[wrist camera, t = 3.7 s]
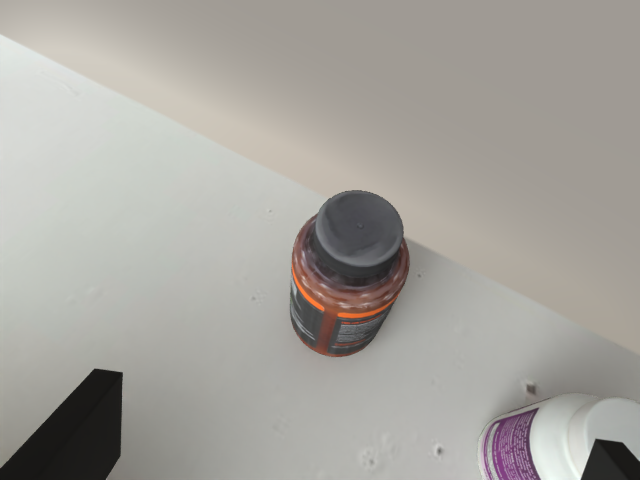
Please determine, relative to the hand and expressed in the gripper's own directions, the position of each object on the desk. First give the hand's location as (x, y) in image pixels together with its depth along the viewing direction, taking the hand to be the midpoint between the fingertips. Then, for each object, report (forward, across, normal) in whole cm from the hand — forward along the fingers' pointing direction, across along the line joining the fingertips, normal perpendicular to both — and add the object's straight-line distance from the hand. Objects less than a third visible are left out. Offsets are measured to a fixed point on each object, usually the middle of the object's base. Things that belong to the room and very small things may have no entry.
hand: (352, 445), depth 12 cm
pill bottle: (+12, +12, -9) cm, 19 cm away
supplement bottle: (+17, 0, -4) cm, 17 cm away
